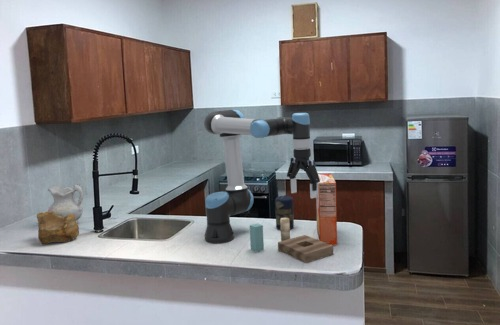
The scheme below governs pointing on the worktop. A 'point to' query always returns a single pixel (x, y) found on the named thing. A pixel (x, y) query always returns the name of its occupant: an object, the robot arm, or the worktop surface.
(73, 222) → the rough brown rock
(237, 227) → the worktop surface
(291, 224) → the canister
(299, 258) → the socket block
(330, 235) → the pasta box
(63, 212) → the ceramic pitcher
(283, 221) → the round dowel
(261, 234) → the square peg
